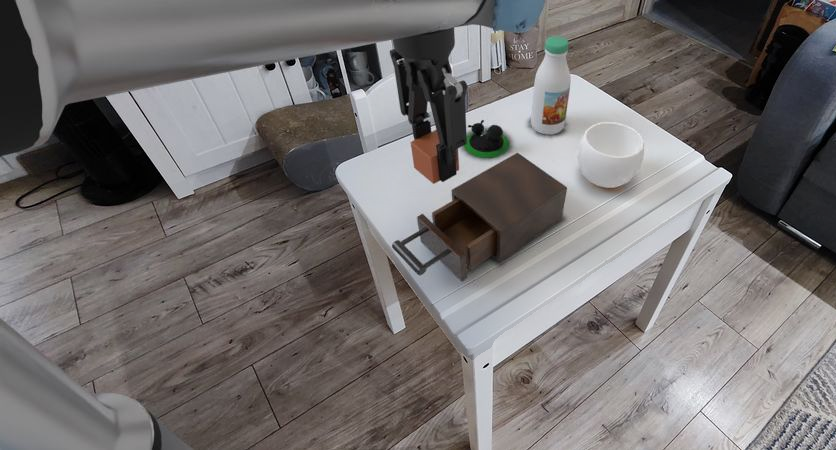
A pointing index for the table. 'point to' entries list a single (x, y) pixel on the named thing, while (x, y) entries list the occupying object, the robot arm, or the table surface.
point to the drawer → (451, 240)
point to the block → (428, 156)
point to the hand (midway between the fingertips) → (436, 167)
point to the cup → (610, 154)
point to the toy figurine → (486, 141)
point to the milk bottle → (551, 88)
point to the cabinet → (514, 201)
